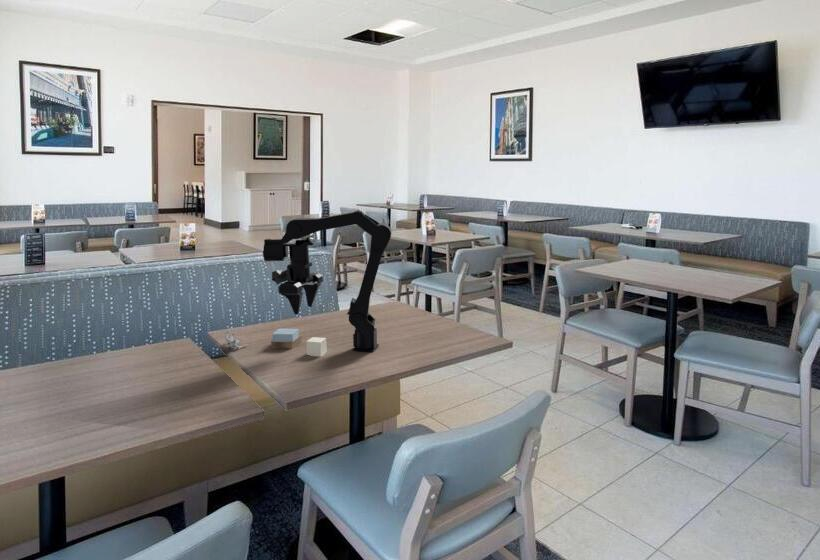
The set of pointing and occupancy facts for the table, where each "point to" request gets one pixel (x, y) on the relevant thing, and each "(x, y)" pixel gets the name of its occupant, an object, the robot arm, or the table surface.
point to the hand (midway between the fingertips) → (303, 310)
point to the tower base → (286, 344)
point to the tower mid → (285, 335)
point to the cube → (316, 346)
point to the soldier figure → (233, 341)
